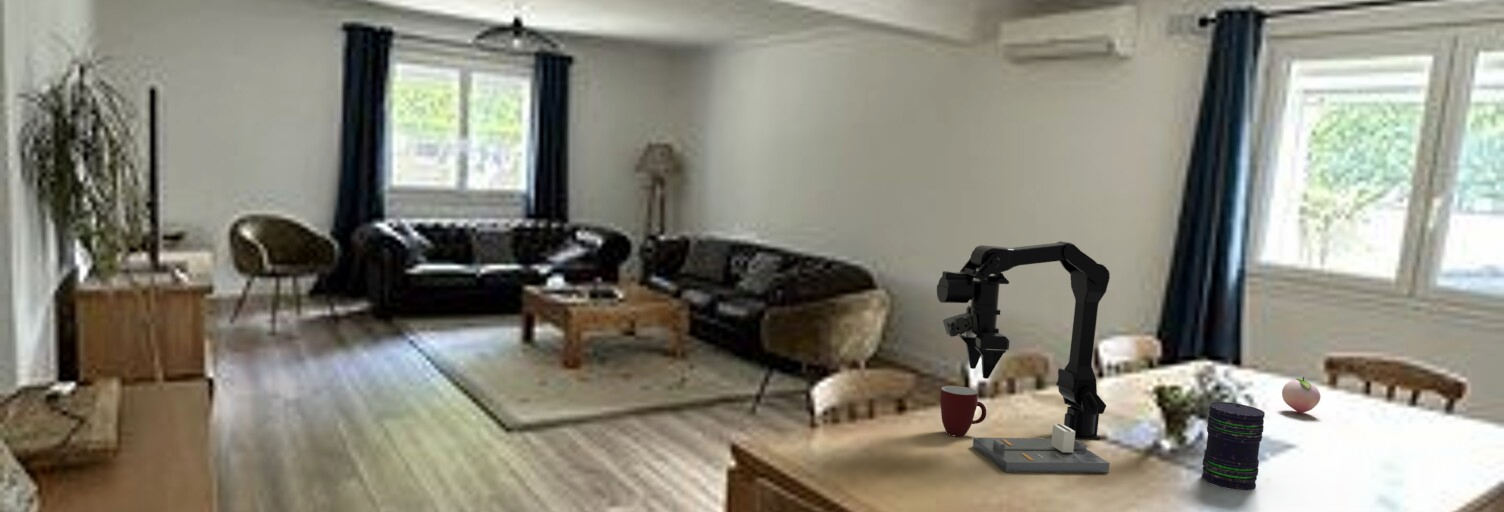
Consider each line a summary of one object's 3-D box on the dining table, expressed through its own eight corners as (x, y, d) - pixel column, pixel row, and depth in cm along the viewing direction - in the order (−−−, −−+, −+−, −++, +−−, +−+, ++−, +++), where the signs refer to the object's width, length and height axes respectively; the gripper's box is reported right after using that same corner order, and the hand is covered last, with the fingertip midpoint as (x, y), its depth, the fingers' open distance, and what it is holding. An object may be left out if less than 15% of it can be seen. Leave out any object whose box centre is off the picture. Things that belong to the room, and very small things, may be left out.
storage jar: (1254, 494, 175) (1263, 418, 174) (1198, 482, 180) (1206, 408, 179) (1257, 481, 184) (1266, 408, 182) (1203, 469, 189) (1212, 399, 187)
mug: (973, 428, 209) (977, 385, 208) (991, 439, 201) (995, 394, 200) (931, 428, 206) (934, 385, 205) (947, 440, 199) (951, 395, 198)
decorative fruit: (1273, 407, 248) (1278, 371, 247) (1306, 410, 247) (1310, 374, 246) (1289, 416, 239) (1293, 379, 238) (1322, 419, 238) (1327, 382, 237)
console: (1068, 447, 199) (1069, 431, 198) (1108, 472, 183) (1110, 455, 183) (972, 446, 195) (974, 430, 194) (1005, 472, 179) (1007, 454, 179)
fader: (1061, 445, 192) (1063, 423, 192) (1073, 452, 187) (1075, 430, 187) (1051, 444, 192) (1053, 423, 191) (1062, 452, 187) (1064, 430, 186)
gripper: (937, 295, 209) (932, 362, 210) (960, 309, 190) (954, 382, 192) (984, 297, 209) (979, 364, 211) (1012, 311, 191) (1006, 384, 192)
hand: (979, 373), depth 202 cm, fingers open, 9 cm apart
